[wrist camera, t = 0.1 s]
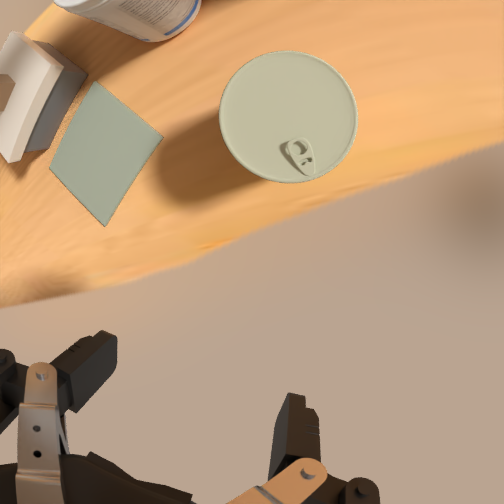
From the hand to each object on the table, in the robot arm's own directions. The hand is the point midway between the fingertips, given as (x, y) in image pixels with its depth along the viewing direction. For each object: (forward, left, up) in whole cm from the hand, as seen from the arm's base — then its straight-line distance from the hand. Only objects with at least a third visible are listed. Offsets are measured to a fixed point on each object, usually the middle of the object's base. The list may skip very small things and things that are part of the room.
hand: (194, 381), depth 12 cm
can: (-11, -5, -23) cm, 26 cm away
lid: (+5, -36, -17) cm, 40 cm away
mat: (+6, -22, -22) cm, 32 cm away
